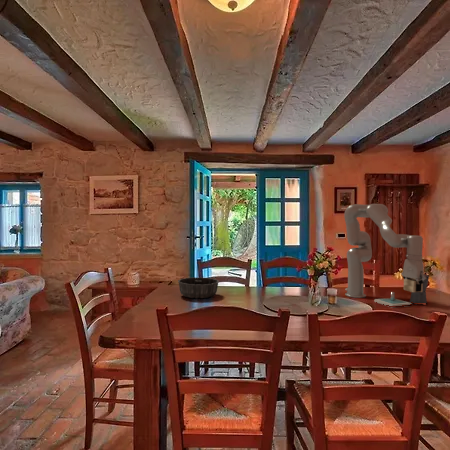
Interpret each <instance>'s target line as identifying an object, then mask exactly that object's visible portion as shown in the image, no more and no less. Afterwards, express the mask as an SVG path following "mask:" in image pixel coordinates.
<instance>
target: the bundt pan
mask: <svg viewBox="0 0 450 450" xmlns="http://www.w3.org/2000/svg"><path fill="white" fill-rule="evenodd" d="M177 281H178V286H179V292H180V294H181V295H182V296H184V297H186V298H190V299H193V298H195V299H208V298H211V297H214V295H215V294H217V291H218V286H219V283H220V281H219V280H218V279H215V278H211V277H202V276H201V277H200V276H199V277H196V276H195V277H185V278H180V279H179V280H177Z"/></svg>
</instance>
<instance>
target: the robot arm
mask: <svg viewBox="0 0 450 450" xmlns="http://www.w3.org/2000/svg"><path fill="white" fill-rule="evenodd" d="M343 213H344V214H343V216H344V217H343V218H344V221H345V228H346V238H347V243H348V244H349V245H350V246H353V247H351V248H349V249H348V250H347V251H346V260H347V261H346V262H347V287H346V288H345V289H344V290H345V291H346V293H345V294H344V295H345V296H346V297H350V298H355V299H356V298H357V299H361V298H362V299H363V298H366V297H367V295H366V294H365V293H364V272H365V270H364V265H363V263H364V262H369V261H370V260H371V259H372V257H373V249H372V242H371V241H372V240H371V237H370V234H369V233H368V232H367V231H363V230H361V225H360V222H359V220H358V218H365V219H366V218H370V219H371V221H373V222H374V223H375V225H376V226H377V227H378V228H379V233H380V236H381V238H382V239H383V240H384V241H385V242H386V244H387V245H389V246H390V247H392V248H395V249H396V248H397V249H398V248H406V254H405V258H406V259H404V263H403V268H402V272H401V276H402V278H403V280H404V279H411V278H412V279H416V282H417V284H416V291H421V284H423V282H424V281H425V280H426V279H427V278H426V277H425V275H424V274H425V273H424V272H425V271H424V270H425V269H424V268H425V267H424V262H423V261H424V260H423V245H424V244H423V241H424V238H423V236H421V235H410V234H406V233H405V234H404V233H403V234H402V233H396V232H395V231H394V230H393V229H392V228H391V224H392V222H393V219H392V218H391V217H390V216H389V214H388V213H389V208H388V206H386V205H385V204H383V203H371V204H358V203H355V204H350V205H348V206H347V208H346V209H345V211H344V212H343ZM354 246H356V247H354Z"/></svg>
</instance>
